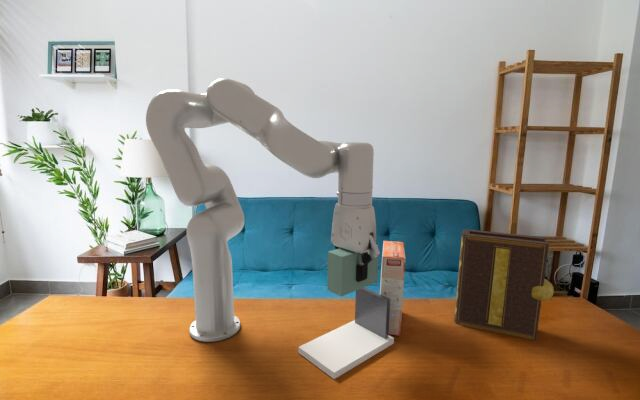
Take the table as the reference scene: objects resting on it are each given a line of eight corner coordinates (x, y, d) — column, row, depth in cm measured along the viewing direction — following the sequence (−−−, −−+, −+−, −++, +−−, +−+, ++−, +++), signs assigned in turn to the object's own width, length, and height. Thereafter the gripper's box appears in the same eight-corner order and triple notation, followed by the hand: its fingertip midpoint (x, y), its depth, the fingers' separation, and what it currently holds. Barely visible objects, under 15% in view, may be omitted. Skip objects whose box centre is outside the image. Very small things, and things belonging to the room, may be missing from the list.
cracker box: (401, 337, 91) (406, 257, 87) (377, 334, 92) (381, 255, 88) (400, 310, 104) (404, 241, 100) (379, 308, 105) (382, 239, 101)
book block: (327, 289, 81) (327, 251, 80) (363, 276, 89) (364, 241, 87) (341, 296, 78) (342, 256, 76) (377, 282, 86) (378, 245, 84)
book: (453, 326, 96) (461, 235, 91) (454, 311, 104) (462, 227, 99) (549, 345, 88) (564, 246, 83) (543, 328, 96) (555, 237, 91)
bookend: (354, 322, 94) (355, 286, 92) (357, 321, 95) (359, 285, 93) (385, 339, 87) (387, 300, 85) (388, 337, 88) (390, 299, 86)
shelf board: (298, 352, 84) (298, 346, 83) (357, 323, 97) (357, 318, 96) (334, 379, 75) (334, 372, 74) (393, 343, 88) (393, 337, 87)
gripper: (317, 195, 84) (316, 270, 87) (373, 207, 71) (370, 293, 74) (340, 192, 88) (339, 263, 92) (396, 202, 76) (392, 283, 79)
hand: (353, 276), depth 83 cm, fingers closed on book block, 4 cm apart
